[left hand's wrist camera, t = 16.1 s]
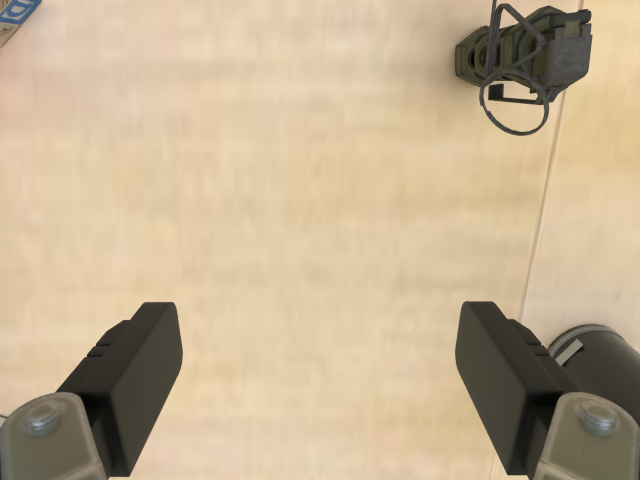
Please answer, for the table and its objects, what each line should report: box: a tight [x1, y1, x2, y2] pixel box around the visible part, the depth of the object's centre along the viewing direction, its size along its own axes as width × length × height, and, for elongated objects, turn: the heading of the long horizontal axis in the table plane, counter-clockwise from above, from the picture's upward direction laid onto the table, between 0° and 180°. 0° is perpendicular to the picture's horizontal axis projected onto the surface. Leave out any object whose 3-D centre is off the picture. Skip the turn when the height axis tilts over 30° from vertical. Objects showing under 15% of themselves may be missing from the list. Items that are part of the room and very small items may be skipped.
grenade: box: [455, 0, 592, 136], centre depth 31 cm, size 9×6×15 cm, turn 7°
